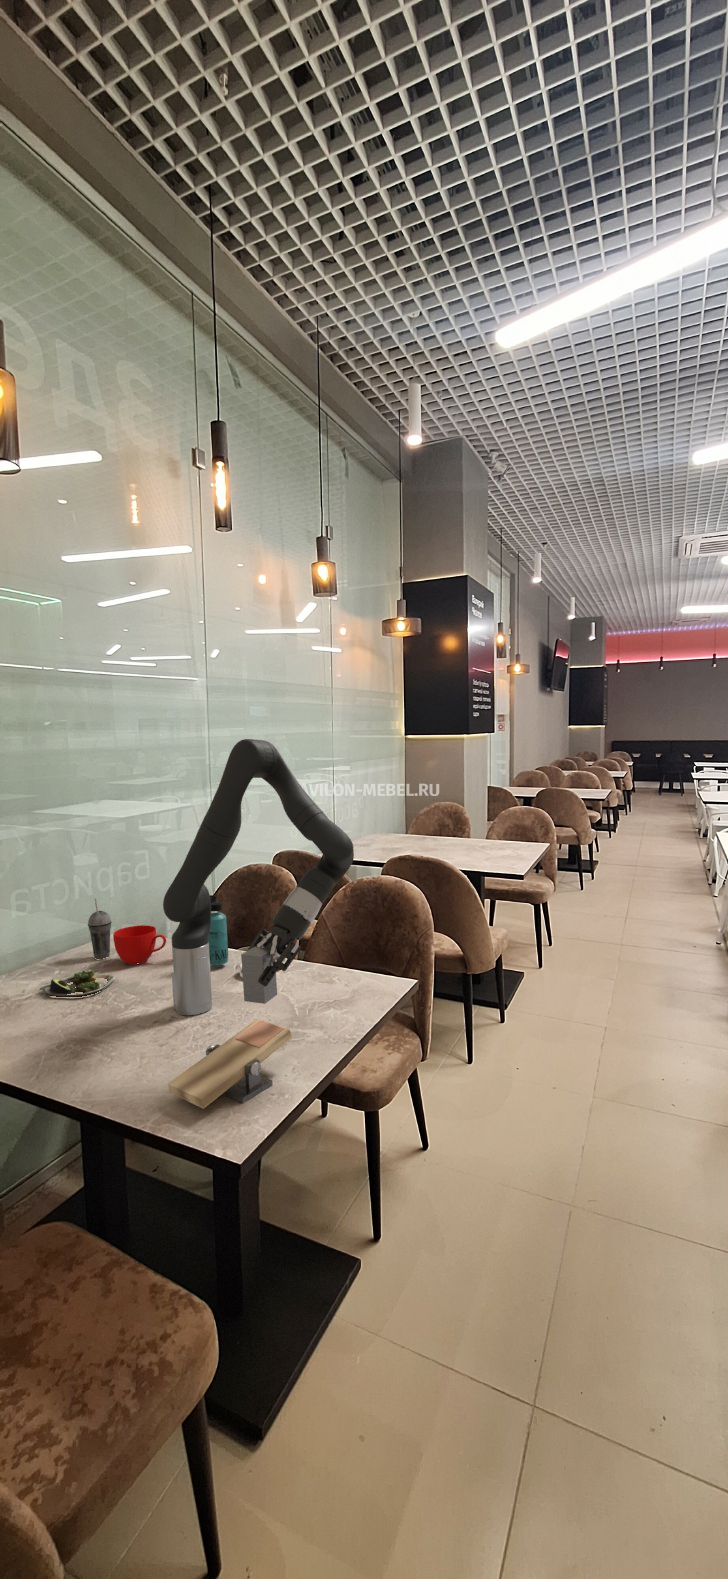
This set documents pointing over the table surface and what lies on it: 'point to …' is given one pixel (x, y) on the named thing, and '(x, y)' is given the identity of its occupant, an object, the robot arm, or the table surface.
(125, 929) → the ceramic cup
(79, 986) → the salad plate
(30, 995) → the table surface
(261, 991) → the block
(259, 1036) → the seesaw plank
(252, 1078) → the seesaw stand
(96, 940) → the beverage cup
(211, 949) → the beverage bottle
